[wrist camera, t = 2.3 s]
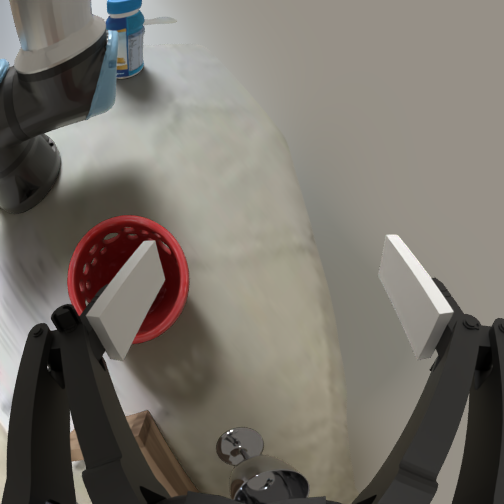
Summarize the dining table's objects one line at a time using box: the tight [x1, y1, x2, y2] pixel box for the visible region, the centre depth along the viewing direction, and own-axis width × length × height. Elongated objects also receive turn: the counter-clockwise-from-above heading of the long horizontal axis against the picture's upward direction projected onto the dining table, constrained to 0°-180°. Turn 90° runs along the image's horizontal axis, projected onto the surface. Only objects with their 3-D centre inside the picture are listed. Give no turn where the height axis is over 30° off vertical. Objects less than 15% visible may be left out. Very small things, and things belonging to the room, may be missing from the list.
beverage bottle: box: [106, 0, 145, 79], centre depth 36 cm, size 8×8×20 cm
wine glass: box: [216, 427, 310, 504], centre depth 25 cm, size 8×8×15 cm
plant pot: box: [67, 215, 189, 344], centre depth 29 cm, size 13×13×12 cm
